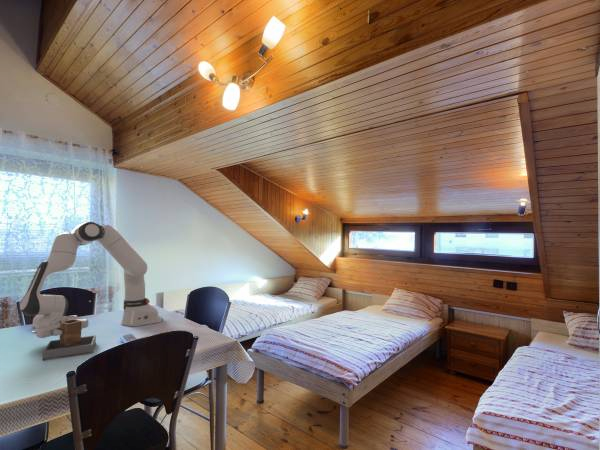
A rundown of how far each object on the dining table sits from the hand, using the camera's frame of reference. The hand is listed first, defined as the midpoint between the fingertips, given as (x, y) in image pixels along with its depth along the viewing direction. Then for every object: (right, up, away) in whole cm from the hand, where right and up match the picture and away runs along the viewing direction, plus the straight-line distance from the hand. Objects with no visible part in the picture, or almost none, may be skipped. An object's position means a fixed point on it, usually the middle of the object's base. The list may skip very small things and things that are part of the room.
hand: (71, 330), depth 147 cm
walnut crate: (-1, -6, 0) cm, 6 cm away
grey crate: (-1, -10, 0) cm, 10 cm away
